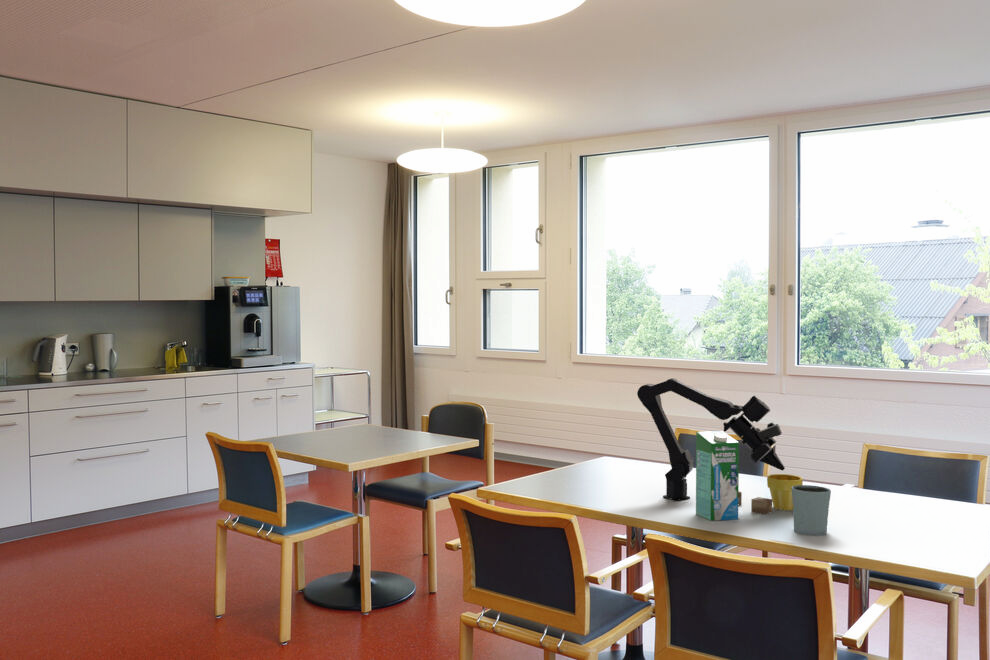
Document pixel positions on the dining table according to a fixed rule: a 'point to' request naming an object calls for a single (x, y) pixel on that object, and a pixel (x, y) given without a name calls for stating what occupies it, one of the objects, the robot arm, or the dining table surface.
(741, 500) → the marked block
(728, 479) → the milk carton
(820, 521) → the grey cup
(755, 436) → the robot arm
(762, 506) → the marked block
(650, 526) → the dining table surface
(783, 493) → the plant pot
